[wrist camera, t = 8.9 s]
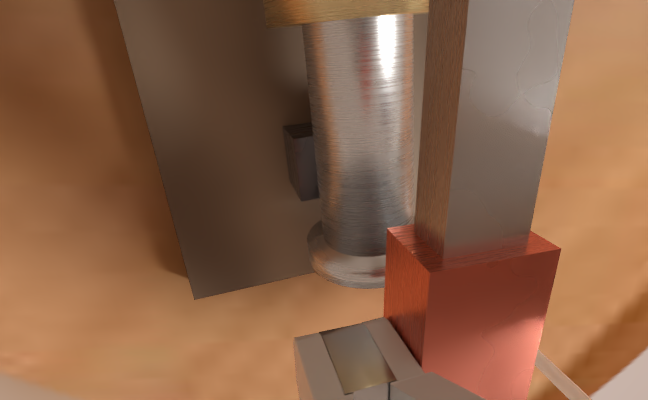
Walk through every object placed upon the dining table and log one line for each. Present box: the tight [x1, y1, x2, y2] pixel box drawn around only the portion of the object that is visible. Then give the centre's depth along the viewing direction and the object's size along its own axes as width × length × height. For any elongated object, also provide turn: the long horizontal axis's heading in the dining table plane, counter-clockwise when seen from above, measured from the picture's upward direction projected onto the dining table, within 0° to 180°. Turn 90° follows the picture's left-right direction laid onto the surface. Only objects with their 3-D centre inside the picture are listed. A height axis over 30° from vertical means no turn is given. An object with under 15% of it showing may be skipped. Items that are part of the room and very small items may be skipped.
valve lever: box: [384, 0, 574, 400], centre depth 7 cm, size 14×3×4 cm, turn 2°
